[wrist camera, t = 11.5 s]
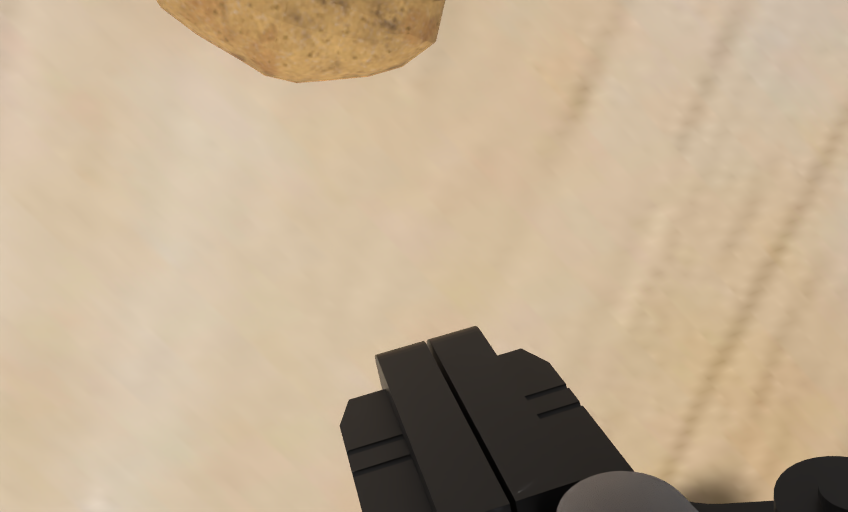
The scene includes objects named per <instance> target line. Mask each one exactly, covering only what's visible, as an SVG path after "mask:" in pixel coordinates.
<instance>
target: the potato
mask: <svg viewBox="0 0 848 512" xmlns="http://www.w3.org/2000/svg"><path fill="white" fill-rule="evenodd" d="M157 2H158V3H159V5H160V6H161V8H162V9H164V10H165V11H166V12H168V13H169V14H170V15H172V16H173V17H174V18H176V19H177V20H178V21H180V22H181V23H182V24H184V25H185V26H186V27H188V28H189V29H190V30H192V31H193V32H194V33H196V34H197V35H199V36H200V37H202V38H204V39H205V40H207V41H209V42H211V43H212V44H214V45H216V46H217V47H219V48H221V49H222V50H224V51H226V52H227V53H229V54H231V55H233V56H234V57H236V58H238V59H239V60H241V61H243V62H244V63H246V64H248V65H249V66H251V67H252V68H254V69H256V70H257V71H259V72H260V73H262V74H263V75H265V76H269V77H274V78H278V79H282V80H287V81H291V82H295V83H302V82H314V81H326V80H337V79H348V78H358V77H368V76H372V75H375V74H379V73H382V72H386V71H389V70H392V69H396V68H399V67H402V66H404V65H405V64H406V63H408V62H409V61H411V60H412V59H413V58H415V57H416V56H417V55H419V54H420V53H421V52H423V51H424V50H425V49H427V48H428V47H429V46H431V45H432V44H434V43H435V41H436V39H437V34H438V30H439V25H440V21H441V16H442V12H443V8H444V3H445V0H157Z"/></svg>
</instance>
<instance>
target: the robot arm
mask: <svg viewBox="0 0 848 512" xmlns="http://www.w3.org/2000/svg"><path fill="white" fill-rule="evenodd" d="M375 359H376V365H377V369H378V373H379V378H380V382H381V386H382V390H380V391H377V392H374V393H370V394H367V395H363V396H360V397H357V398H353V399H350V400H349V401H348V404H347V407H346V409H345V412H344V415H343V418H342V421H341V424H340V429H341V432H342V436H343V440H344V444H345V448H346V451H347V455H348V459H349V463H350V467H351V470H352V474H353V478H354V482H355V486H356V489H357V493H358V497H359V501H360V505H361V508H362V512H848V457H842V456H825V457H816V458H812V459H807V460H804V461H801V462H799V463H796V464H794V465H793V466H791V467H789V468H788V469H787V470H785V471H784V472H783V473H782V474H781V475H780V477H779V478H778V480H777V481H776V485H775V488H774V501H761V502H745V503H729V504H703V503H694V502H689V501H688V500H687V499H686V498H685V497H684V496H683V495H682V494H681V493H680V492H679V491H678V490H676V489H675V488H674V487H673V486H671V485H670V484H668V483H667V482H665V481H663V480H661V479H659V478H656V477H654V476H651V475H647V474H644V473H638V472H634V471H633V469H632V468H631V467H630V465H629V464H628V463H627V462H626V460H625V459H624V458H623V456H622V455H621V454H620V453H619V451H618V450H617V449H616V447H615V446H614V445H613V444H612V442H611V441H610V440H609V439H608V437H607V436H606V435H605V433H604V432H603V431H602V430H601V428H600V427H599V426H598V424H597V423H596V422H595V421H594V419H593V418H592V417H591V415H590V414H589V413H588V412H587V410H586V409H585V408H584V407H583V406H581V405H580V402H579V400H578V399H577V398H576V396H575V395H574V394H573V392H572V391H571V390H570V389H569V388H567V387H566V383H565V382H564V381H563V380H562V378H561V377H560V376H559V375H558V373H557V372H556V371H555V369H554V368H553V367H552V366H551V364H550V363H549V362H547V361H545V360H543V359H541V358H539V357H537V356H535V355H533V354H531V353H529V352H527V351H525V350H523V349H518V350H515V351H511V352H508V353H504V354H501V355H498V356H497V355H496V353H495V352H494V350H493V349H492V347H491V346H490V344H489V343H488V341H487V340H486V338H485V337H484V335H483V334H482V332H481V331H480V329H479V328H478V327H477V326H473V327H470V328H466V329H463V330H460V331H456V332H453V333H449V334H446V335H442V336H439V337H435V338H432V339H428V340H427V344H426V343H425V341H422V342H419V343H415V344H412V345H408V346H405V347H401V348H398V349H394V350H391V351H388V352H384V353H381V354H377V355H375Z"/></svg>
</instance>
